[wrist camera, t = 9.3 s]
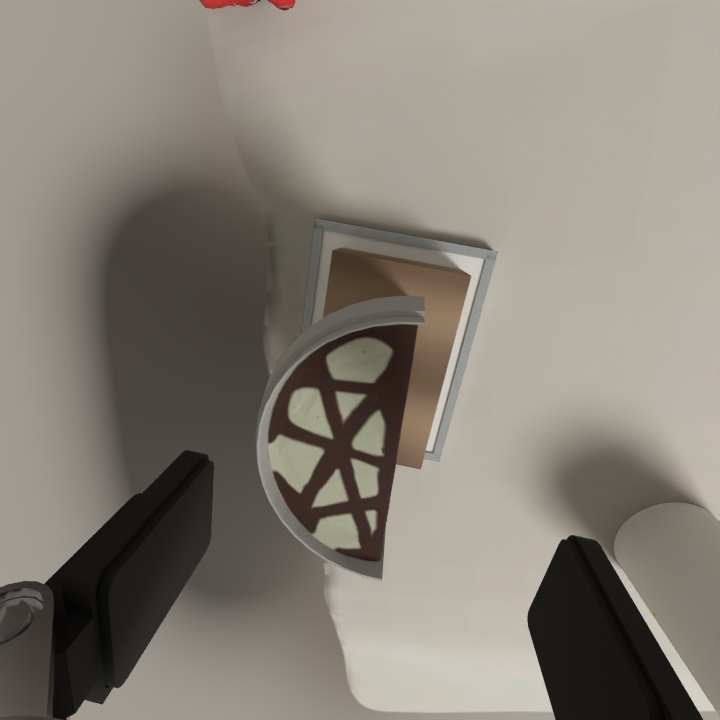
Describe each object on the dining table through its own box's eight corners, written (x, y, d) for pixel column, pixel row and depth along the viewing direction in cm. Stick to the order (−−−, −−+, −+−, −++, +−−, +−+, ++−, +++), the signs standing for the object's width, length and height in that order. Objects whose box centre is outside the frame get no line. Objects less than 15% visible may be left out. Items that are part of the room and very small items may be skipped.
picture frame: (318, 219, 26) (315, 218, 25) (493, 250, 26) (497, 251, 25) (292, 424, 32) (288, 431, 30) (437, 453, 31) (439, 461, 30)
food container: (310, 261, 22) (243, 283, 13) (417, 274, 22) (427, 306, 13) (298, 446, 26) (240, 566, 17) (388, 460, 26) (380, 590, 17)
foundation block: (342, 247, 26) (332, 250, 22) (460, 269, 26) (471, 275, 22) (316, 418, 30) (304, 445, 26) (418, 439, 30) (420, 469, 26)
